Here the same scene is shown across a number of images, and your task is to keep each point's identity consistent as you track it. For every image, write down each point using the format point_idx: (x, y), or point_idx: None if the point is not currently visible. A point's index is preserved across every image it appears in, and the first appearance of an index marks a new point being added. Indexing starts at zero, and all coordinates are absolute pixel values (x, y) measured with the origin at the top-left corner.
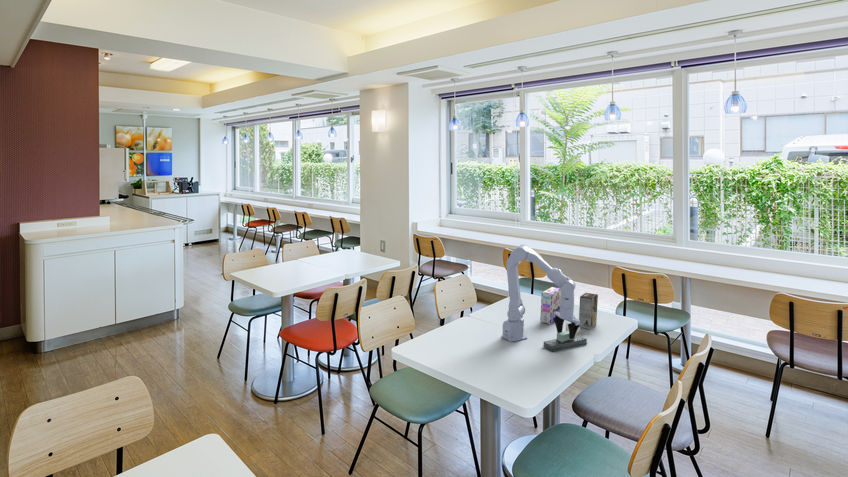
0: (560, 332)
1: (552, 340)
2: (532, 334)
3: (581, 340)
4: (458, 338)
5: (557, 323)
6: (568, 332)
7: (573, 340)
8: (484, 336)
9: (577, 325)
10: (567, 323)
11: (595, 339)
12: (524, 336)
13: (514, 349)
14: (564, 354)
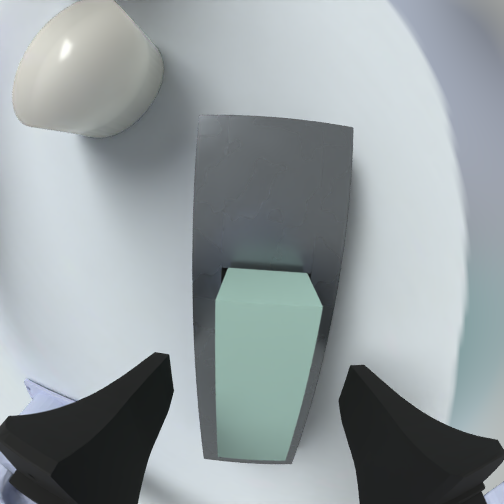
0: (219, 433)
1: (211, 422)
2: (34, 336)
3: (346, 207)
4: None
5: (137, 488)
6: (268, 380)
7: None
8: None
9: (472, 486)
10: (18, 90)
11: (292, 3)
12: (66, 403)
13: (183, 490)
14: None
